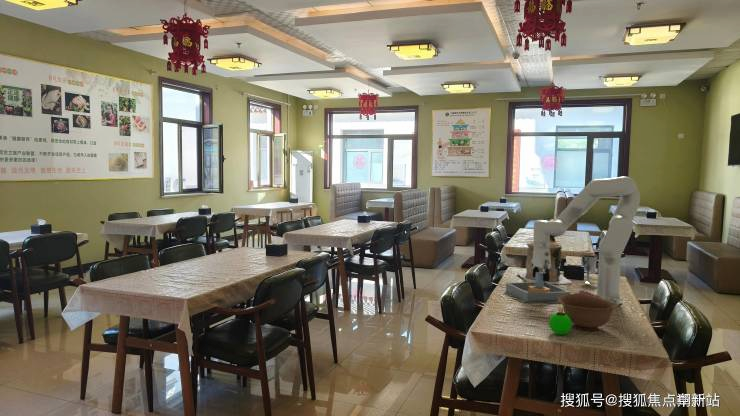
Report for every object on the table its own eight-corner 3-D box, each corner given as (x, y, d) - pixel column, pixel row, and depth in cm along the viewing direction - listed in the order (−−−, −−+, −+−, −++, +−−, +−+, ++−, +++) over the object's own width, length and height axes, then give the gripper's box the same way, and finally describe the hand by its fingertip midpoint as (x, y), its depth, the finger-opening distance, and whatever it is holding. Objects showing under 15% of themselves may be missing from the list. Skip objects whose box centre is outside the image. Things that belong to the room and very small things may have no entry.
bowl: (604, 320, 207) (605, 294, 206) (626, 338, 185) (628, 309, 184) (550, 318, 209) (551, 292, 208) (565, 335, 187) (566, 306, 186)
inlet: (550, 294, 246) (550, 289, 246) (536, 294, 245) (536, 289, 245) (542, 290, 254) (542, 285, 254) (528, 290, 253) (528, 286, 252)
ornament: (565, 330, 193) (567, 305, 192) (575, 338, 184) (576, 311, 184) (545, 330, 192) (546, 305, 191) (553, 337, 184) (554, 311, 183)
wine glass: (580, 283, 276) (582, 256, 275) (579, 280, 284) (580, 254, 283) (596, 284, 274) (597, 257, 273) (594, 281, 282) (595, 255, 280)
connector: (544, 293, 248) (545, 273, 247) (537, 293, 247) (538, 273, 246) (540, 291, 252) (541, 271, 251) (533, 291, 251) (534, 272, 250)
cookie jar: (527, 284, 273) (529, 226, 271) (515, 274, 298) (517, 221, 295) (573, 285, 272) (575, 226, 270) (557, 275, 297) (559, 222, 294)
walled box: (569, 301, 237) (570, 291, 237) (527, 302, 233) (527, 293, 233) (545, 290, 259) (545, 281, 259) (505, 291, 255) (506, 282, 255)
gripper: (557, 247, 240) (557, 282, 241) (539, 242, 257) (538, 275, 258) (543, 247, 238) (543, 283, 240) (525, 242, 255) (525, 275, 257)
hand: (540, 278), depth 249 cm, fingers open, 9 cm apart
